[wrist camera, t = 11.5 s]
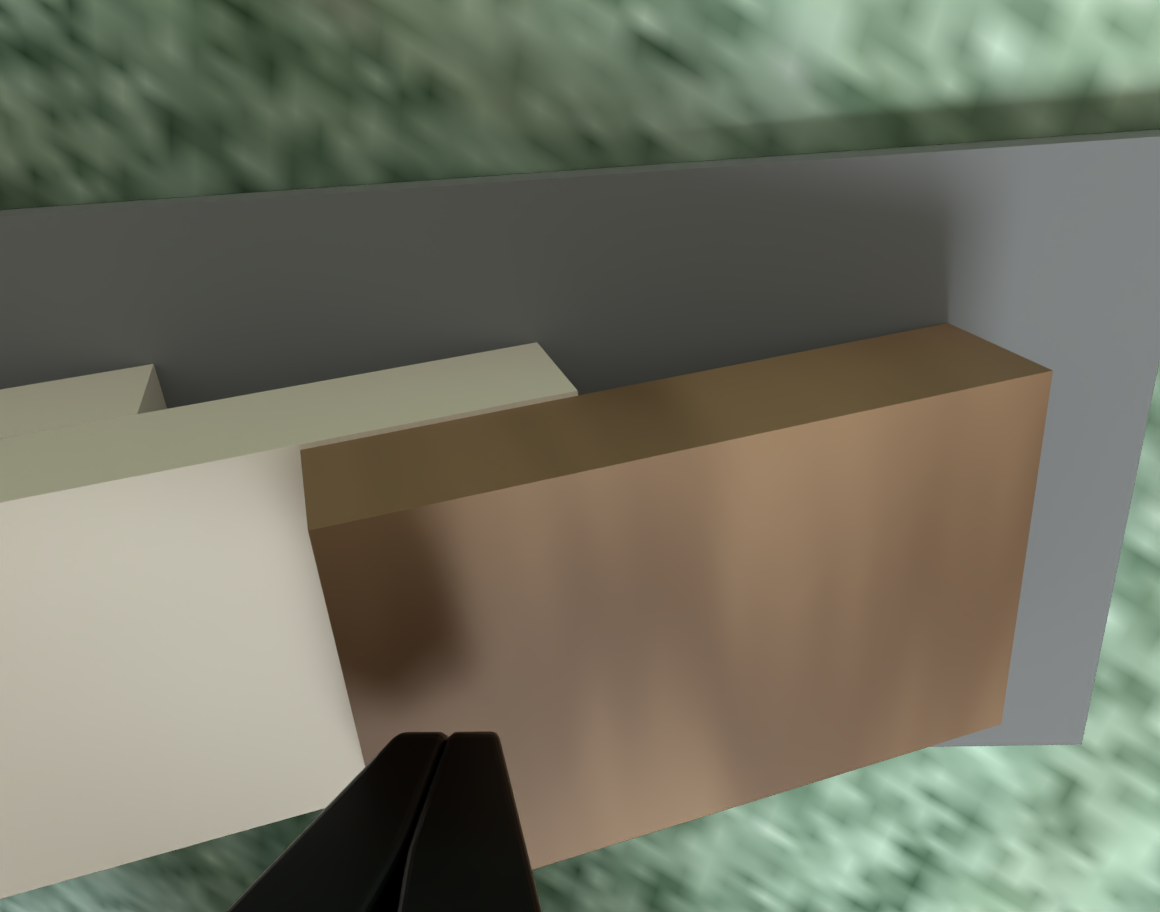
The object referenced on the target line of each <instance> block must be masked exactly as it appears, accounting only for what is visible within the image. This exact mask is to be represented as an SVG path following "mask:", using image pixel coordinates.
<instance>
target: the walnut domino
mask: <svg viewBox="0 0 1160 912" xmlns="http://www.w3.org/2000/svg"><path fill="white" fill-rule="evenodd" d="M1052 374H1053V370H1051V369H1048V368H1046V367H1044V366H1042V365H1040V364H1037V363H1035V362H1033V361H1031V360H1029V359H1026V358H1024V357H1022V356H1020V355H1018V354H1015V353H1013V352H1011V351H1009V350H1007V349H1004V348H1002V347H1000V346H998V345H996V344H993V343H991V342H989V341H987V340H985V339H982V338H980V337H978V336H976V335H973V334H971V333H969V332H967V331H965V330H962V329H960V328H958V327H956V326H954V325H951V324H949V323H946V324H941V325H936V326H931V327H926V328H921V329H916V330H910V331H905V332H900V333H895V334H890V335H885V336H880V337H875V338H870V339H865V340H859V341H854V342H849V343H844V344H839V345H834V346H829V347H824V348H819V349H813V350H808V351H803V352H798V353H793V354H788V355H783V356H778V357H773V358H768V359H762V360H757V361H752V362H747V363H742V364H737V365H732V366H727V367H722V368H716V369H711V370H706V371H701V372H696V373H691V374H686V375H681V376H676V377H671V378H665V379H660V380H655V381H650V382H645V383H640V384H635V385H630V386H625V387H619V388H614V389H609V390H604V391H599V392H594V393H589V394H584V395H579V396H574V397H569V398H563V399H558V400H553V401H548V402H543V403H538V404H533V405H528V406H522V407H517V408H512V409H507V410H502V411H497V412H492V413H487V414H482V415H477V416H471V417H466V418H461V419H456V420H451V421H446V422H441V423H436V424H431V425H426V426H420V427H415V428H410V429H405V430H400V431H395V432H390V433H385V434H380V435H374V436H369V437H364V438H359V439H354V440H349V441H344V442H339V443H334V444H329V445H323V446H318V447H313V448H308V449H303V450H300V455H301V465H302V475H303V485H304V496H305V506H306V516H307V527H308V533H309V537H310V541H311V546H312V550H313V554H314V558H315V562H316V566H317V570H318V574H319V578H320V583H321V587H322V591H323V595H324V599H325V603H326V607H327V611H328V616H329V620H330V624H331V628H332V632H333V636H334V640H335V644H336V648H337V653H338V657H339V661H340V665H341V669H342V673H343V677H344V681H345V685H346V690H347V694H348V698H349V702H350V706H351V710H352V714H353V718H354V723H355V727H356V731H357V735H358V739H359V743H360V747H361V751H362V755H363V760H364V764H365V767H366V766H367V765H368V763H369V762H370V761H371V760H372V759H373V758H374V757H375V756H376V755H377V754H378V753H379V752H380V751H381V750H382V749H383V748H384V747H385V746H386V745H387V744H388V743H389V742H390V741H391V740H392V739H393V738H394V737H395V736H397V735H399V734H400V733H404V732H442V733H444V734H446V735H447V736H448V737H449V736H450V735H451V734H453V733H454V732H474V731H491V732H495V733H497V735H498V736H499V738H500V741H501V745H502V749H503V753H504V757H505V761H506V765H507V769H508V773H509V778H510V782H511V786H512V790H513V794H514V798H515V802H516V806H517V810H518V814H519V819H520V823H521V827H522V831H523V835H524V839H525V843H526V847H527V851H528V855H529V860H530V864H531V868H532V870H533V869H536V868H540V867H543V866H546V865H549V864H552V863H556V862H559V861H562V860H565V859H569V858H572V857H575V856H578V855H582V854H585V853H588V852H591V851H594V850H598V849H601V848H604V847H607V846H611V845H614V844H617V843H620V842H623V841H627V840H630V839H633V838H636V837H640V836H643V835H646V834H649V833H652V832H656V831H659V830H662V829H665V828H669V827H672V826H675V825H678V824H681V823H685V822H688V821H691V820H694V819H698V818H701V817H704V816H707V815H710V814H714V813H717V812H720V811H723V810H727V809H730V808H733V807H736V806H739V805H743V804H746V803H749V802H752V801H756V800H759V799H762V798H765V797H768V796H772V795H775V794H778V793H781V792H785V791H788V790H791V789H794V788H797V787H801V786H804V785H807V784H810V783H814V782H817V781H820V780H823V779H826V778H830V777H833V776H836V775H839V774H843V773H846V772H849V771H852V770H855V769H859V768H862V767H865V766H868V765H872V764H875V763H878V762H881V761H884V760H888V759H891V758H894V757H897V756H901V755H904V754H907V753H910V752H913V751H917V750H920V749H923V748H926V747H930V746H933V745H936V744H939V743H942V742H946V741H949V740H952V739H955V738H959V737H962V736H965V735H968V734H971V733H975V732H978V731H981V730H984V729H988V728H991V727H994V726H997V725H1000V724H1001V722H1002V716H1003V709H1004V702H1005V695H1006V688H1007V681H1008V675H1009V668H1010V661H1011V654H1012V647H1013V640H1014V634H1015V627H1016V620H1017V613H1018V606H1019V599H1020V593H1021V586H1022V579H1023V572H1024V565H1025V558H1026V552H1027V545H1028V538H1029V531H1030V524H1031V517H1032V511H1033V504H1034V497H1035V490H1036V483H1037V476H1038V470H1039V463H1040V456H1041V449H1042V442H1043V435H1044V429H1045V422H1046V415H1047V408H1048V401H1049V394H1050V388H1051V381H1052Z"/></svg>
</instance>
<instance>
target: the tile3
mask: <svg viewBox="0 0 1160 912" xmlns="http://www.w3.org/2000/svg"><path fill="white" fill-rule="evenodd" d="M164 409H167V406H166V403H165V400H164V396H163V393H162V390H161V386H160V383H159V380H158V376H157V373H156V370H155V367H154V364H149V365H143V366H138V367H132V368H126V369H120V370H114V371H108V372H102V373H96V374H90V375H84V376H78V377H72V378H66V379H60V380H54V381H48V382H42V383H36V384H30V385H24V386H18V387H12V388H6V389H0V439H3V438H8V437H14V436H19V435H25V434H30V433H36V432H42V431H47V430H53V429H58V428H64V427H69V426H75V425H80V424H86V423H92V422H97V421H103V420H108V419H114V418H119V417H125V416H130V415H136V414H141V413H147V412H153V411H158V410H164Z"/></svg>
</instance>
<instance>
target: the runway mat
mask: <svg viewBox="0 0 1160 912" xmlns="http://www.w3.org/2000/svg"><path fill="white" fill-rule="evenodd" d="M946 323H949V324H951V325H954V326H956V327H958V328H960V329H962V330H965V331H967V332H969V333H971V334H973V335H976V336H978V337H980V338H982V339H985V340H987V341H989V342H991V343H993V344H996V345H998V346H1000V347H1002V348H1004V349H1007V350H1009V351H1011V352H1013V353H1015V354H1018V355H1020V356H1022V357H1024V358H1026V359H1029V360H1031V361H1033V362H1035V363H1037V364H1040V365H1042V366H1044V367H1046V368H1048V369H1051V370H1053V374H1052V381H1051V388H1050V394H1049V401H1048V408H1047V415H1046V422H1045V429H1044V435H1043V442H1042V449H1041V456H1040V463H1039V470H1038V476H1037V483H1036V490H1035V497H1034V504H1033V511H1032V517H1031V524H1030V531H1029V538H1028V545H1027V552H1026V558H1025V565H1024V572H1023V579H1022V586H1021V593H1020V599H1019V606H1018V613H1017V620H1016V627H1015V634H1014V640H1013V647H1012V654H1011V661H1010V668H1009V675H1008V681H1007V688H1006V695H1005V702H1004V709H1003V716H1002V722H1001V724H1000V725H997V726H994V727H991V728H988V729H984V730H981V731H978V732H975V733H971V734H968V735H965V736H962V737H959V738H955V739H952V740H949V741H946V742H942V743H939V744H936V745H933V746H930V747H944V746H1009V745H1074V744H1082V740H1083V735H1084V730H1085V725H1086V720H1087V715H1088V710H1089V705H1090V700H1091V696H1092V691H1093V686H1094V681H1095V676H1096V671H1097V666H1098V661H1099V656H1100V651H1101V646H1102V641H1103V636H1104V632H1105V627H1106V622H1107V617H1108V612H1109V607H1110V602H1111V597H1112V592H1113V587H1114V582H1115V577H1116V573H1117V568H1118V563H1119V558H1120V553H1121V548H1122V543H1123V538H1124V533H1125V528H1126V523H1127V518H1128V513H1129V509H1130V504H1131V499H1132V494H1133V489H1134V484H1135V479H1136V474H1137V469H1138V464H1139V459H1140V454H1141V449H1142V445H1143V440H1144V435H1145V430H1146V425H1147V420H1148V415H1149V410H1150V405H1151V400H1152V395H1153V390H1154V386H1155V381H1156V376H1157V371H1158V366H1159V361H1160V129H1157V130H1142V131H1128V132H1114V133H1099V134H1085V135H1071V136H1056V137H1042V138H1028V139H1013V140H999V141H984V142H970V143H956V144H941V145H927V146H913V147H898V148H884V149H870V150H855V151H841V152H827V153H812V154H798V155H784V156H769V157H755V158H741V159H726V160H712V161H698V162H683V163H669V164H654V165H640V166H626V167H611V168H597V169H583V170H568V171H554V172H540V173H525V174H511V175H497V176H482V177H468V178H454V179H439V180H425V181H411V182H396V183H382V184H368V185H353V186H339V187H324V188H310V189H296V190H281V191H267V192H253V193H238V194H224V195H210V196H195V197H181V198H167V199H152V200H138V201H124V202H109V203H95V204H81V205H66V206H52V207H38V208H23V209H9V210H0V389H6V388H12V387H18V386H24V385H30V384H36V383H42V382H48V381H54V380H60V379H66V378H72V377H78V376H84V375H90V374H96V373H102V372H108V371H114V370H120V369H126V368H132V367H138V366H143V365H149V364H154V367H155V370H156V373H157V376H158V380H159V383H160V386H161V390H162V393H163V396H164V400H165V403H166V406H167V409H169V408H175V407H180V406H186V405H191V404H197V403H203V402H208V401H214V400H219V399H225V398H230V397H236V396H241V395H247V394H253V393H258V392H264V391H269V390H275V389H280V388H286V387H291V386H297V385H302V384H308V383H314V382H319V381H325V380H330V379H336V378H341V377H347V376H352V375H358V374H364V373H369V372H375V371H380V370H386V369H391V368H397V367H402V366H408V365H414V364H419V363H425V362H430V361H436V360H441V359H447V358H452V357H458V356H463V355H469V354H475V353H480V352H486V351H491V350H497V349H502V348H508V347H513V346H519V345H525V344H530V343H536V342H537V343H538V344H539V345H540V346H541V348H542V349H543V350H544V351H545V352H546V354H547V355H548V356H549V357H550V358H551V359H552V361H553V362H554V363H555V364H556V365H557V367H558V368H559V369H560V370H561V371H562V373H563V374H564V375H565V376H566V377H567V379H568V380H569V381H570V382H571V383H572V385H573V386H574V387H575V388H576V389H577V391H578V396H579V395H584V394H589V393H594V392H599V391H604V390H609V389H614V388H619V387H625V386H630V385H635V384H640V383H645V382H650V381H655V380H660V379H665V378H671V377H676V376H681V375H686V374H691V373H696V372H701V371H706V370H711V369H716V368H722V367H727V366H732V365H737V364H742V363H747V362H752V361H757V360H762V359H768V358H773V357H778V356H783V355H788V354H793V353H798V352H803V351H808V350H813V349H819V348H824V347H829V346H834V345H839V344H844V343H849V342H854V341H859V340H865V339H870V338H875V337H880V336H885V335H890V334H895V333H900V332H905V331H910V330H916V329H921V328H926V327H931V326H936V325H941V324H946Z"/></svg>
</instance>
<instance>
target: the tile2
mask: <svg viewBox="0 0 1160 912" xmlns="http://www.w3.org/2000/svg"><path fill="white" fill-rule="evenodd" d="M574 396H578V391H577V389H576V388H575V387H574V386H573V385H572V383H571V382H570V381H569V380H568V379H567V377H566V376H565V375H564V374H563V373H562V371H561V370H560V369H559V368H558V367H557V365H556V364H555V363H554V362H553V361H552V359H551V358H550V357H549V356H548V355H547V354H546V352H545V351H544V350H543V349H542V348H541V346H540V345H539V344H538V343H537V342H536V343H530V344H525V345H519V346H513V347H508V348H502V349H497V350H491V351H486V352H480V353H475V354H469V355H463V356H458V357H452V358H447V359H441V360H436V361H430V362H425V363H419V364H414V365H408V366H402V367H397V368H391V369H386V370H380V371H375V372H369V373H364V374H358V375H352V376H347V377H341V378H336V379H330V380H325V381H319V382H314V383H308V384H302V385H297V386H291V387H286V388H280V389H275V390H269V391H264V392H258V393H253V394H247V395H241V396H236V397H230V398H225V399H219V400H214V401H208V402H203V403H197V404H191V405H186V406H180V407H175V408H169V409H164V410H158V411H153V412H147V413H141V414H136V415H130V416H125V417H119V418H114V419H108V420H103V421H97V422H92V423H86V424H80V425H75V426H69V427H64V428H58V429H53V430H47V431H42V432H36V433H30V434H25V435H19V436H14V437H8V438H3V439H0V899H2V898H6V897H9V896H13V895H16V894H20V893H24V892H27V891H31V890H34V889H38V888H41V887H45V886H49V885H52V884H56V883H59V882H63V881H66V880H70V879H74V878H77V877H81V876H84V875H88V874H91V873H95V872H99V871H102V870H106V869H109V868H113V867H116V866H120V865H124V864H127V863H131V862H134V861H138V860H141V859H145V858H149V857H152V856H156V855H159V854H163V853H166V852H170V851H174V850H177V849H181V848H184V847H188V846H191V845H195V844H199V843H202V842H206V841H209V840H213V839H216V838H220V837H224V836H227V835H231V834H234V833H238V832H241V831H245V830H249V829H252V828H256V827H259V826H263V825H267V824H270V823H274V822H277V821H281V820H284V819H288V818H292V817H295V816H299V815H302V814H306V813H309V812H313V811H317V810H320V809H324V808H326V807H327V806H328V805H329V804H330V803H331V802H332V801H333V800H334V799H335V798H336V797H337V796H338V795H339V793H340V792H341V791H342V790H343V789H344V788H345V787H346V786H347V785H348V784H349V783H350V782H351V781H352V780H353V779H354V778H355V777H356V776H357V775H358V774H359V773H360V772H361V771H362V770H363V769H364V768H365V764H364V760H363V755H362V751H361V747H360V743H359V739H358V735H357V731H356V727H355V723H354V718H353V714H352V710H351V706H350V702H349V698H348V694H347V690H346V685H345V681H344V677H343V673H342V669H341V665H340V661H339V657H338V653H337V648H336V644H335V640H334V636H333V632H332V628H331V624H330V620H329V616H328V611H327V607H326V603H325V599H324V595H323V591H322V587H321V583H320V578H319V574H318V570H317V566H316V562H315V558H314V554H313V550H312V546H311V541H310V537H309V533H308V527H307V516H306V506H305V496H304V485H303V475H302V465H301V455H300V450H303V449H308V448H313V447H318V446H323V445H329V444H334V443H339V442H344V441H349V440H354V439H359V438H364V437H369V436H374V435H380V434H385V433H390V432H395V431H400V430H405V429H410V428H415V427H420V426H426V425H431V424H436V423H441V422H446V421H451V420H456V419H461V418H466V417H471V416H477V415H482V414H487V413H492V412H497V411H502V410H507V409H512V408H517V407H522V406H528V405H533V404H538V403H543V402H548V401H553V400H558V399H563V398H569V397H574Z"/></svg>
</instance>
